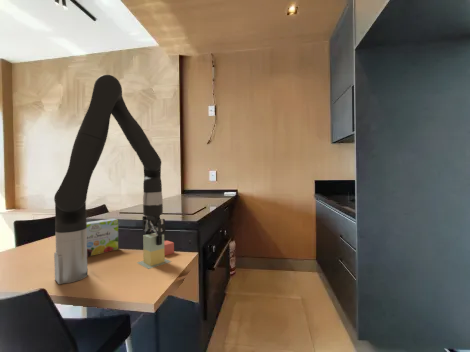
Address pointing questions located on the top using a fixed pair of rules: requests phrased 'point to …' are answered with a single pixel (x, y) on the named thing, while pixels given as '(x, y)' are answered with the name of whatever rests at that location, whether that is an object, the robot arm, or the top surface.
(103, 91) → the robot arm
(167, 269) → the top surface
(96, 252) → the snack box
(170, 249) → the brick red
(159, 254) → the brick mustard
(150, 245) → the brick sage
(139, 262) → the baseplate
